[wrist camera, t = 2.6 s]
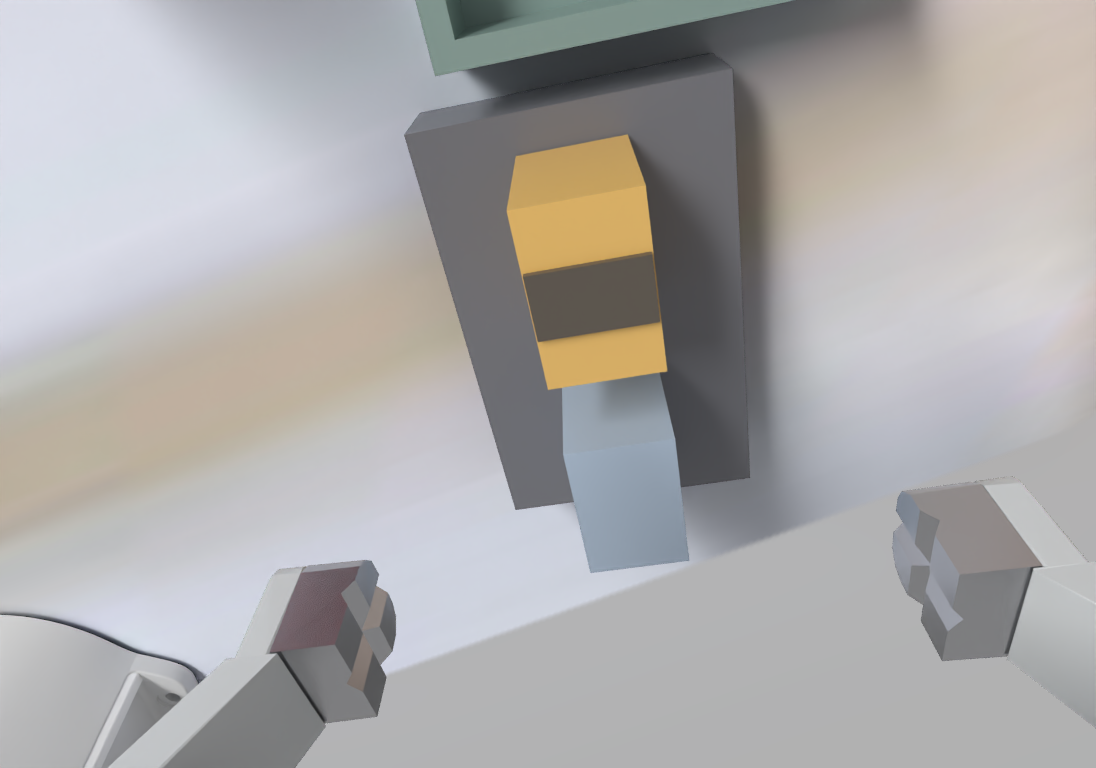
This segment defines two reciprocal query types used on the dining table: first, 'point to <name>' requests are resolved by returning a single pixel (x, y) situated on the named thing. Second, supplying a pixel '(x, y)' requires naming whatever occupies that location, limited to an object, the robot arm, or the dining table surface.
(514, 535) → the dining table surface
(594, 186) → the block
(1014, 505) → the robot arm
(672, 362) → the fuse block
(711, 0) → the parts tray
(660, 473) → the block
